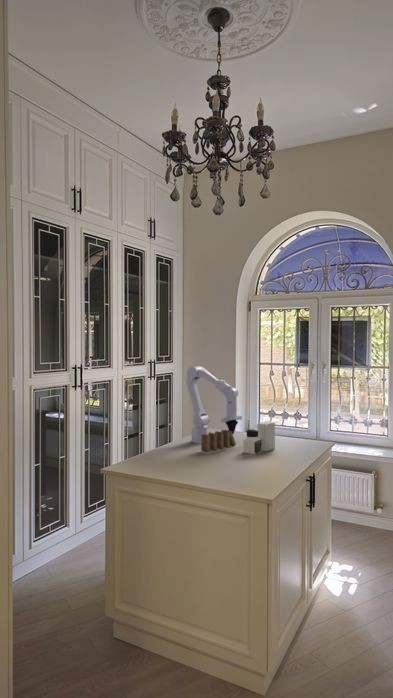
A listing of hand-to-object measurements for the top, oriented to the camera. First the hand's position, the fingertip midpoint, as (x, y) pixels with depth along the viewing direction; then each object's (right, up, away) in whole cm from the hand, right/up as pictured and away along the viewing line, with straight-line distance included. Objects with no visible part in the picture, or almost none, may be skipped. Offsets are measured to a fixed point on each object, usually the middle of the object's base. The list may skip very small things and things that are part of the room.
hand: (231, 433), depth 257 cm
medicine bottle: (+10, -8, -14) cm, 19 cm away
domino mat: (-7, -7, -6) cm, 12 cm away
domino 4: (0, -6, 0) cm, 6 cm away
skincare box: (+18, -7, -8) cm, 21 cm away
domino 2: (-7, -7, -6) cm, 12 cm away
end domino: (-15, -7, -13) cm, 21 cm away
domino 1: (-11, -7, -9) cm, 16 cm away
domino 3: (-3, -7, -3) cm, 8 cm away
